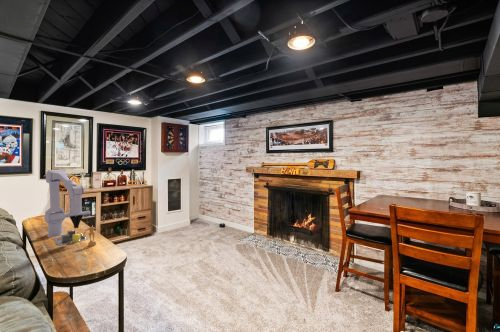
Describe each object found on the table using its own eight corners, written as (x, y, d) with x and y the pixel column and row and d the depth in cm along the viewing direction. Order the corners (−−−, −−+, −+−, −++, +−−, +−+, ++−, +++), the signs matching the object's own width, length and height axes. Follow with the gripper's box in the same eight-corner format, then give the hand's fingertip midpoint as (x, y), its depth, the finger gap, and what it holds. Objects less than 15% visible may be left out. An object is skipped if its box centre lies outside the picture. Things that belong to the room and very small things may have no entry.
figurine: (84, 249, 137) (83, 229, 136) (82, 246, 141) (82, 226, 141) (101, 246, 142) (100, 226, 142) (99, 243, 147) (99, 224, 146)
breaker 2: (67, 236, 154) (67, 230, 154) (74, 235, 157) (74, 229, 157) (68, 237, 152) (68, 231, 152) (75, 236, 155) (75, 230, 155)
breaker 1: (61, 241, 146) (61, 235, 146) (68, 239, 148) (68, 234, 148) (62, 242, 144) (62, 236, 144) (69, 240, 147) (69, 235, 146)
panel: (52, 240, 150) (52, 236, 150) (80, 235, 162) (80, 231, 161) (58, 248, 139) (58, 243, 139) (89, 241, 150) (88, 236, 150)
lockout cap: (71, 241, 147) (71, 234, 147) (79, 239, 150) (79, 233, 150) (73, 242, 144) (73, 235, 144) (81, 240, 147) (81, 234, 147)
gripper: (62, 208, 138) (63, 231, 139) (91, 205, 149) (92, 226, 150) (59, 206, 143) (60, 229, 143) (88, 203, 154) (88, 224, 154)
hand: (76, 227), depth 147 cm, fingers closed
